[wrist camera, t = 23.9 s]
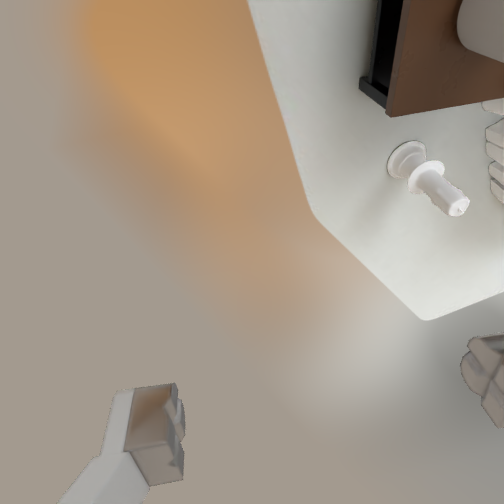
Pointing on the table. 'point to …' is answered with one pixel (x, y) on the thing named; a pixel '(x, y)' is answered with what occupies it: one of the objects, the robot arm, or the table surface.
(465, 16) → the beverage can
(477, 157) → the table surface
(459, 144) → the table surface
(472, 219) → the table surface
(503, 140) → the wavy white extrusion
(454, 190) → the candle
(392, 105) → the miniature side table
